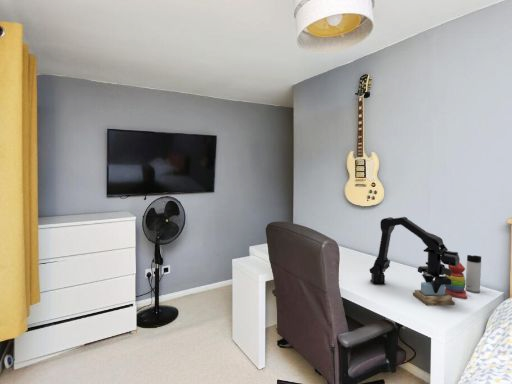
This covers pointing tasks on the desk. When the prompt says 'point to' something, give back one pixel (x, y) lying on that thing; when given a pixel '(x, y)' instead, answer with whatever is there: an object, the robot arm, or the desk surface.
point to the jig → (434, 299)
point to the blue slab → (431, 289)
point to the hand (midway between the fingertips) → (433, 291)
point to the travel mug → (473, 273)
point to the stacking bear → (456, 282)
